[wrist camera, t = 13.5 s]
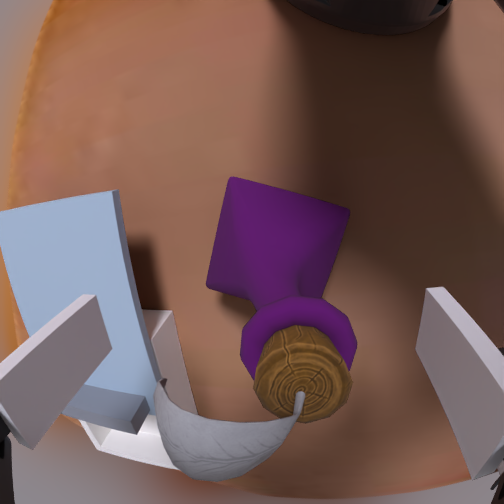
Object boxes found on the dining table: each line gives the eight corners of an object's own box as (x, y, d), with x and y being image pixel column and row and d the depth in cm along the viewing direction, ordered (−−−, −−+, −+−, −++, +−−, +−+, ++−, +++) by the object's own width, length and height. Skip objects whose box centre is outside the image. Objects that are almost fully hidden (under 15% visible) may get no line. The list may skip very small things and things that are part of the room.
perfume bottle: (343, 200, 21) (476, 376, 4) (312, 295, 24) (320, 534, 7) (238, 171, 21) (53, 263, 4) (216, 268, 24) (91, 474, 7)
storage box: (60, 304, 28) (34, 325, 23) (172, 310, 26) (151, 339, 21) (111, 425, 33) (97, 449, 29) (206, 443, 31) (197, 472, 27)
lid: (0, 211, 20) (-32, 223, 16) (118, 189, 18) (82, 200, 14) (59, 387, 25) (39, 409, 22) (171, 411, 23) (156, 443, 20)
